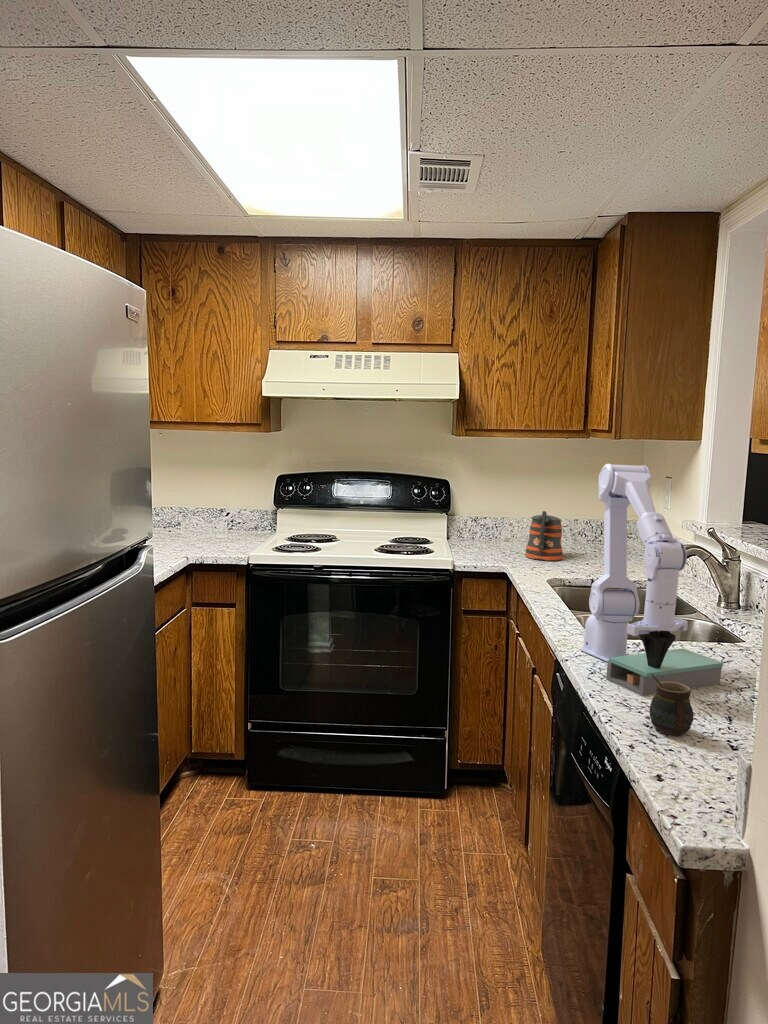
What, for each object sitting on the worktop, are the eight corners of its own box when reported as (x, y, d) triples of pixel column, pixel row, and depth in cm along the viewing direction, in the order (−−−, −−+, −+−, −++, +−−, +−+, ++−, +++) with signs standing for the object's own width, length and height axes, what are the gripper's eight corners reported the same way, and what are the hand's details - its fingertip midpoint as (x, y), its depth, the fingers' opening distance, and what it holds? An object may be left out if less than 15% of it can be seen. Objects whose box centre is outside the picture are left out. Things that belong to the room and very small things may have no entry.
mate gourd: (700, 739, 125) (705, 683, 124) (657, 739, 124) (662, 682, 123) (680, 722, 132) (685, 668, 131) (639, 721, 132) (644, 668, 130)
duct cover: (608, 661, 153) (608, 657, 153) (682, 651, 162) (683, 648, 162) (646, 677, 144) (646, 673, 143) (722, 666, 153) (723, 662, 153)
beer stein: (561, 565, 281) (566, 513, 279) (523, 561, 285) (527, 510, 282) (562, 556, 300) (566, 508, 297) (525, 553, 303) (529, 505, 301)
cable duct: (604, 678, 154) (605, 660, 153) (679, 667, 163) (681, 651, 163) (642, 696, 144) (644, 677, 144) (719, 684, 154) (721, 666, 154)
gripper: (649, 608, 140) (642, 677, 141) (702, 603, 146) (695, 670, 148) (621, 599, 146) (615, 666, 147) (674, 595, 152) (668, 659, 154)
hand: (654, 667), depth 148 cm, fingers closed, pressing on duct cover
